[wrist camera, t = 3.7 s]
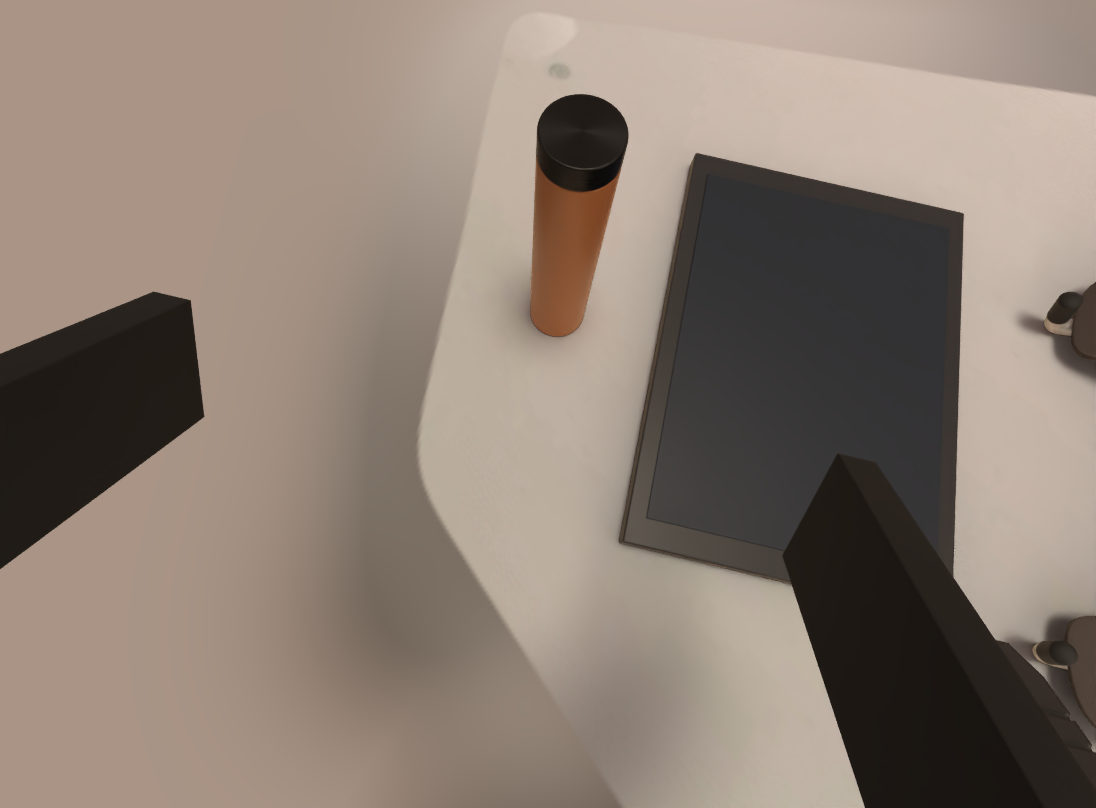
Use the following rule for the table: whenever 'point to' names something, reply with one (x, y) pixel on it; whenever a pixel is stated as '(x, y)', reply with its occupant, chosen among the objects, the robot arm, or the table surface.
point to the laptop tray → (1091, 640)
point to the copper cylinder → (572, 205)
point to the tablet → (796, 364)
